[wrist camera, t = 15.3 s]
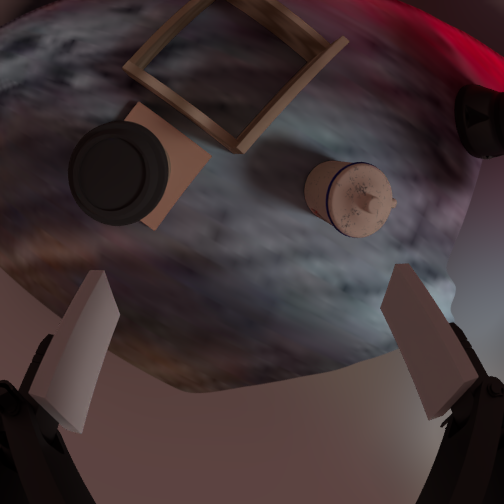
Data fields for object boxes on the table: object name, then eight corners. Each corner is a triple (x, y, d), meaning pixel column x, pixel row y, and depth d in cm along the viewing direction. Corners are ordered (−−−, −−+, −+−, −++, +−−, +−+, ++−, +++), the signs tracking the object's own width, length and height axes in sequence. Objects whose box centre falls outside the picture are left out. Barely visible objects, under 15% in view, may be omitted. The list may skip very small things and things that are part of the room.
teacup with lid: (297, 218, 41) (331, 244, 30) (305, 154, 38) (344, 157, 27) (369, 224, 43) (415, 248, 32) (378, 167, 40) (428, 176, 30)
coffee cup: (154, 215, 36) (126, 254, 22) (98, 178, 33) (42, 196, 19) (193, 156, 34) (188, 157, 20) (136, 118, 32) (96, 97, 18)
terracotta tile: (211, 156, 36) (212, 156, 35) (156, 228, 38) (154, 230, 37) (141, 103, 32) (138, 101, 31) (88, 177, 34) (84, 178, 33)
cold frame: (317, 62, 34) (349, 41, 25) (233, 153, 37) (244, 153, 27) (219, -11, 28) (226, -48, 19) (129, 76, 31) (107, 54, 21)
